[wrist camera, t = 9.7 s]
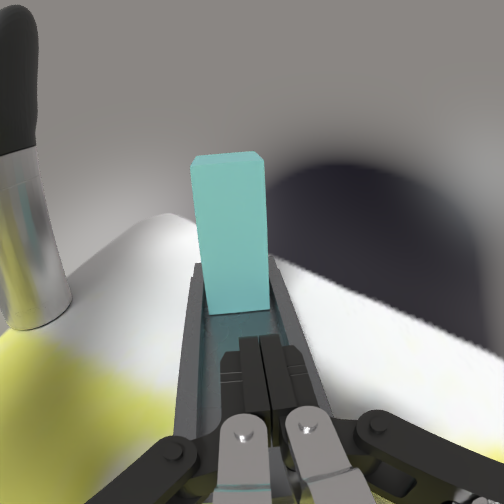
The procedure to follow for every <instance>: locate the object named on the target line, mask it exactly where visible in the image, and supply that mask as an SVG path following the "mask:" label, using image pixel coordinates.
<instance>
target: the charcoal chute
mask: <svg viewBox="0 0 504 504" xmlns="http://www.w3.org/2000/svg"><path fill="white" fill-rule="evenodd" d="M268 270H269V299H270V309H266V310H257V311H247V312H237V313H226V314H214V315H209V311H208V304H207V298H206V291H205V284H204V277H203V270H202V263H195V267H194V274H193V277H191V282H190V289H189V296H188V303H187V310H186V318H185V326H184V334H183V342H182V350H181V359H180V368H179V377H178V387H177V397H176V408H175V419H174V432H173V436H182V437H185V438H187V439H189V440H193V439H196V438H199V437H203V436H205V435H208V434H209V433H211V432H212V431H214V430H215V429H216V428H217V426H218V425H219V423H220V421H221V382H220V361H221V359H222V357H223V355H224V354H225V352H228V351H240V350H239V339H238V337H245V336H255V335H257V336H258V341H259V335H266V334H276V333H278V334H279V337H280V341H281V345H282V346H289V345H294V346H295V347H296V348H297V349H298V350H299V351H300V352H301V353H302V355H303V358H304V361H305V366H306V368H307V371H308V374H309V377H310V380H311V383H312V386H313V389H314V393H315V396H316V399H317V402H318V405H319V407H320V408H321V409H322V410H324V411H325V412H326V413H327V414H328V415H329V416H330V417H333V414H332V411H331V408H330V406H329V403H328V400H327V397H326V394H325V392H324V389H323V386H322V383H321V380H320V378H319V375H318V372H317V369H316V367H315V364H314V361H313V358H312V356H311V353H310V350H309V348H308V345H307V342H306V339H305V337H304V334H303V331H302V329H301V326H300V323H299V320H298V318H297V315H296V312H295V310H294V307H293V304H292V302H291V299H290V296H289V294H288V291H287V288H286V286H285V283H284V281H283V278H282V275H281V273H280V270H279V269H278V268H277V266H276V263H275V260H274V258H273V256H270V257H268ZM333 418H334V417H333ZM268 454H269V471H270V486H271V499H272V504H295V503H294V500H293V496H292V493H291V489H290V486H289V483H288V479H287V476H286V472H285V469H284V465H283V461H282V456H281V451H280V446H278V447H273V445H272V439H271V447H269V448H268ZM212 503H213V493H210V495H209V497H208V498H207V499H206V500H205V501H204V502H203V503H202V504H212Z"/></svg>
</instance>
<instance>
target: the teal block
mask: <svg viewBox="0 0 504 504" xmlns="http://www.w3.org/2000/svg"><path fill="white" fill-rule="evenodd" d="M190 171H191V180H192V190H193V199H194V207H195V216H196V224H197V233H198V240H199V248H200V256H201V263H202V270H203V277H204V284H205V291H206V298H207V304H208V311H209V315H214V314H226V313H237V312H247V311H257V310H266V309H270V299H269V270H268V243H267V218H266V196H265V175H264V160H263V159H262V158H261V157H260V156H259V155H258V154H257V153H256V152H254V151H251V152H237V153H225V154H214V155H203V156H196V158H195V159H194V161H193V162H192V164H191V166H190Z"/></svg>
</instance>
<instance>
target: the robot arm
mask: <svg viewBox="0 0 504 504" xmlns="http://www.w3.org/2000/svg"><path fill="white" fill-rule="evenodd" d="M38 49H39V47H38V32H37V26H36V22H35V20H34V17H33V15H32V14H31V12H30V11H29V10H28V9H27V8H25V7H24V6H21V5H11V6H8V7H5V8H3V9H1V10H0V309H1V312H2V314H3V316H4V318H5V320H6V323H7V324H8V326H9V327H11V328H13V329H17V330H27V329H32V328H36V327H39V326H42V325H44V324H46V323H48V322H50V321H52V320H54V319H55V318H56V317H58V316H59V315H60V314H62V313H63V312H64V311H65V310H66V308H67V307H68V306H69V304H70V302H71V300H72V294H71V291H70V288H69V285H68V282H67V279H66V276H65V273H64V269H63V266H62V263H61V259H60V256H59V252H58V249H57V245H56V241H55V238H54V234H53V230H52V226H51V222H50V218H49V213H48V209H47V204H46V199H45V195H44V189H43V184H42V179H41V174H40V168H39V161H38V155H37V147H36V138H35V129H36V122H37V112H38V110H37V72H38ZM238 339H239V350H240V351H228V352H225V354H224V355H223V357H222V359H221V361H220V382H221V421H220V423H219V425H218V426H217V428H216V429H215V430H214V431H212V432H211V433H209V434H208V435H205V436H203V437H199V438H196V439H193V440H189V439H187V438H185V437H182V436H168V437H165V438H162V439H160V440H159V441H158V442H156V443H155V444H154V445H153V446H152V447H151V448H150V449H149V450H147V451H146V452H145V453H144V454H143V455H142V456H141V457H140V458H138V459H137V460H136V461H135V462H134V463H133V464H132V465H130V466H129V467H128V468H127V469H126V470H125V471H123V472H122V473H121V474H120V475H119V476H117V477H116V478H115V479H114V480H113V481H112V482H110V483H109V484H108V485H107V486H106V487H104V488H103V489H102V490H101V491H99V492H98V493H97V494H96V495H94V496H93V497H92V498H91V499H89V500H88V501H87V502H86V503H84V504H202V503H203V502H204V501H205V500H206V499H207V498H208V497H209V495H210V493H213V503H212V504H272V499H271V486H270V471H269V454H268V448H269V447H271V439H272V445H273V447H278V446H280V451H281V456H282V461H283V465H284V469H285V472H286V476H287V479H288V483H289V486H290V489H291V493H292V496H293V500H294V503H295V504H376V502H375V500H374V497H373V495H372V493H371V491H372V492H374V493H376V494H378V495H380V496H381V497H383V498H385V499H387V500H389V501H391V502H393V503H395V504H504V464H503V463H501V462H498V461H495V460H493V459H490V458H488V457H485V456H483V455H480V454H478V453H476V452H473V451H471V450H468V449H466V448H464V447H461V446H459V445H457V444H455V443H452V442H450V441H448V440H446V439H443V438H441V437H439V436H437V435H435V434H432V433H430V432H428V431H426V430H424V429H422V428H420V427H418V426H416V425H413V424H411V423H409V422H407V421H405V420H403V419H401V418H399V417H397V416H395V415H393V414H391V413H389V412H387V411H384V410H371V411H368V412H366V413H364V414H363V415H362V416H361V417H360V418H359V419H358V420H343V419H336V418H333V417H330V416H329V415H328V414H327V413H326V412H325V411H324V410H322V409H321V408H320V407H319V405H318V402H317V399H316V396H315V393H314V389H313V386H312V383H311V380H310V377H309V374H308V371H307V368H306V366H305V361H304V358H303V355H302V353H301V352H300V351H299V350H298V349H297V348H296V347H295V346H294V345H289V346H282V345H281V341H280V337H279V334H278V333H276V334H266V335H259V341H258V336H257V335H255V336H245V337H238Z"/></svg>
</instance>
